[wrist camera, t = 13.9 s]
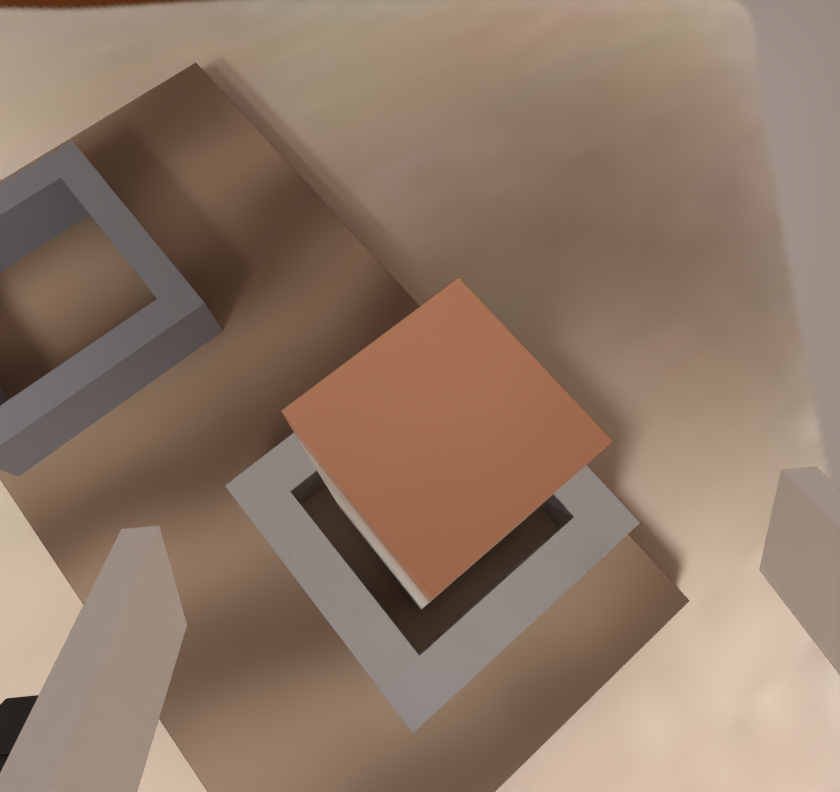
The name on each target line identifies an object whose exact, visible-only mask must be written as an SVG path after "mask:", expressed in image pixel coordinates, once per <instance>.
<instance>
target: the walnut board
mask: <svg viewBox="0 0 840 792" xmlns="http://www.w3.org/2000/svg"><path fill="white" fill-rule="evenodd" d="M71 140H72V141H73V142H74V143H75V145H76V146H77V147H78V148H79V150H80V151H81V152H82V153H83V154H84V156H85V157H86V158H87V159H88V161H89V162H90V163H91V164H92V166H93V167H94V168H95V169H96V170H97V172H98V173H99V174H100V175H101V177H102V178H103V179H104V180H105V181H106V183H107V184H108V185H109V186H110V188H111V189H112V190H113V191H114V192H115V194H116V195H117V196H118V197H119V199H120V200H121V201H122V202H123V203H124V205H125V206H126V207H127V208H128V210H129V211H130V212H131V213H132V214H133V216H134V217H135V218H136V219H137V221H138V222H139V223H140V224H141V226H142V227H143V228H144V229H145V230H146V232H147V233H148V234H149V235H150V237H151V238H152V239H153V240H154V241H155V243H156V244H157V245H158V246H159V248H160V249H161V250H162V251H163V252H164V254H165V255H166V256H167V257H168V259H169V260H170V261H171V262H172V263H173V265H174V266H175V267H176V268H177V270H178V271H179V272H180V273H181V274H182V276H183V277H184V278H185V279H186V281H187V282H188V283H189V284H190V286H191V287H192V288H193V289H194V290H195V292H196V293H197V294H198V295H199V297H200V298H201V299H202V300H203V301H204V303H205V304H206V306H207V307H208V309H209V310H210V312H211V314H212V315H213V317H214V318H215V320H216V321H217V323H218V324H219V326H220V328H221V329H222V331H223V332H221V333H220V334H219V335H217V336H216V337H214V338H213V339H211V340H210V341H209V342H207V343H206V344H204V345H203V346H202V347H200V348H199V349H197V350H196V351H195V352H193V353H192V354H190V355H189V356H188V357H186V358H185V359H183V360H182V361H181V362H179V363H178V364H176V365H175V366H174V367H172V368H171V369H169V370H168V371H166V372H165V373H164V374H162V375H161V376H159V377H158V378H157V379H155V380H154V381H152V382H151V383H150V384H148V385H147V386H145V387H144V388H143V389H141V390H140V391H138V392H137V393H136V394H134V395H133V396H131V397H130V398H129V399H127V400H126V401H124V402H123V403H121V404H120V405H119V406H117V407H116V408H114V409H113V410H112V411H110V412H109V413H107V414H106V415H105V416H103V417H102V418H100V419H99V420H98V421H96V422H95V423H93V424H92V425H91V426H89V427H88V428H86V429H85V430H84V431H82V432H81V433H79V434H78V435H76V436H75V437H74V438H72V439H71V440H69V441H68V442H67V443H65V444H64V445H62V446H61V447H60V448H58V449H57V450H55V451H54V452H53V453H51V454H50V455H48V456H47V457H46V458H44V459H43V460H41V461H40V462H39V463H37V464H36V465H34V466H33V467H31V468H30V469H29V470H27V471H26V472H24V473H23V474H22V475H20V476H19V477H18V476H15V475H13V474H10V473H7V472H4V471H2V470H0V480H1V481H2V483H3V484H4V486H5V487H6V489H7V490H8V492H9V493H10V495H11V496H12V498H13V499H14V501H15V502H16V504H17V505H18V507H19V508H20V510H21V511H22V513H23V514H24V516H25V518H26V519H27V521H28V522H29V524H30V525H31V527H32V528H33V530H34V531H35V533H36V534H37V536H38V537H39V539H40V540H41V542H42V543H43V545H44V546H45V548H46V549H47V551H48V552H49V554H50V555H51V557H52V558H53V560H54V561H55V563H56V564H57V566H58V567H59V569H60V570H61V572H62V573H63V575H64V576H65V578H66V579H67V581H68V582H69V584H70V585H71V587H72V588H73V590H74V591H75V593H76V594H77V596H78V597H79V599H80V600H81V602H82V603H83V605H84V603H85V601H86V599H87V597H88V595H89V593H90V591H91V589H92V587H93V585H94V583H95V581H96V579H97V577H98V575H99V573H100V571H101V569H102V567H103V565H104V563H105V561H106V559H107V557H108V555H109V553H110V551H111V549H112V547H113V545H114V543H115V541H116V539H117V537H118V535H119V533H120V531H121V529H127V528H138V527H149V526H160V530H161V533H162V537H163V540H164V544H165V548H166V551H167V555H168V558H169V562H170V566H171V569H172V573H173V576H174V580H175V584H176V587H177V591H178V594H179V598H180V602H181V605H182V609H183V612H184V616H185V619H186V623H187V627H186V630H185V633H184V637H183V640H182V643H181V647H180V650H179V653H178V657H177V660H176V663H175V667H174V670H173V673H172V677H171V680H170V683H169V687H168V690H167V693H166V697H165V700H164V703H163V707H162V710H161V713H160V717H159V719H160V721H161V722H162V724H163V725H164V727H165V728H166V730H167V731H168V733H169V734H170V736H171V737H172V739H173V740H174V742H175V743H176V745H177V747H178V748H179V750H180V751H181V753H182V754H183V756H184V757H185V759H186V760H187V762H188V763H189V765H190V766H191V768H192V769H193V771H194V772H195V774H196V775H197V777H198V778H199V780H200V781H201V783H202V784H203V786H204V787H205V789H206V790H207V792H495V791H496V790H497V789H498V788H499V787H500V786H501V785H502V784H503V783H504V782H505V781H506V780H507V779H508V778H509V777H510V776H511V775H513V774H514V773H515V772H516V771H517V770H518V769H519V768H520V767H521V766H522V765H523V764H524V763H525V762H526V761H527V760H528V759H529V758H530V757H531V756H532V755H533V754H534V753H535V752H536V751H537V750H538V749H539V748H540V747H541V746H542V745H543V744H544V743H545V742H546V741H547V740H548V739H549V738H550V737H551V736H552V735H553V734H554V733H555V732H556V731H557V730H558V729H559V728H560V727H561V726H562V725H563V724H564V723H565V722H566V721H567V720H569V719H570V718H571V717H572V716H573V715H574V714H575V713H576V712H577V711H578V710H579V709H580V708H581V707H582V706H583V705H584V704H585V703H586V702H587V701H588V700H589V699H590V698H591V697H592V696H593V695H594V694H595V693H596V692H597V691H598V690H599V689H600V688H601V687H602V686H603V685H604V684H605V683H606V682H607V681H608V680H609V679H610V678H611V677H612V676H613V675H614V674H615V673H616V672H617V671H618V670H619V669H620V668H621V667H622V666H623V665H625V664H626V663H627V662H628V661H629V660H630V659H631V658H632V657H633V656H634V655H635V654H636V653H637V652H638V651H639V650H640V649H641V648H642V647H643V646H644V645H645V644H646V643H647V642H648V641H649V640H650V639H651V638H652V637H653V636H654V635H655V634H656V633H657V632H658V631H659V630H660V629H661V628H662V627H663V626H664V625H665V624H666V623H667V622H668V621H669V620H670V619H671V618H672V617H673V616H674V615H675V614H676V613H677V612H678V611H679V610H681V609H682V608H683V607H684V606H685V605H686V604H687V603H688V602H689V600H688V599H687V597H686V596H685V595H684V594H683V593H682V592H681V591H680V590H679V589H678V588H677V587H676V585H675V584H674V583H673V582H672V581H671V580H670V579H669V578H668V577H667V576H666V575H665V573H664V572H663V571H662V570H661V569H660V568H659V567H658V566H657V565H656V564H655V563H654V561H653V560H652V559H651V558H650V557H649V556H648V555H647V554H646V553H645V552H644V551H643V549H642V548H641V547H640V546H639V545H638V544H637V543H636V542H635V541H634V540H633V539H632V537H631V536H630V535H629V534H628V535H627V536H625V537H624V538H623V539H622V540H621V541H620V542H619V543H618V544H617V545H616V546H615V547H614V548H613V549H611V550H610V551H609V552H608V553H607V554H606V555H605V556H604V557H603V558H602V559H601V560H600V561H598V562H597V563H596V564H595V565H594V566H593V567H592V568H591V569H590V570H589V571H588V572H587V573H586V574H584V575H583V576H582V577H581V578H580V579H579V580H578V581H577V582H576V583H575V584H574V585H573V586H571V587H570V588H569V589H568V590H567V591H566V592H565V593H564V594H563V595H562V596H561V597H560V598H559V599H557V600H556V601H555V602H554V603H553V604H552V605H551V606H550V607H549V608H548V609H547V610H546V611H545V612H543V613H542V614H541V615H540V616H539V617H538V618H537V619H536V620H535V621H534V622H533V623H532V624H530V625H529V626H528V627H527V628H526V629H525V630H524V631H523V632H522V633H521V634H520V635H519V636H518V637H516V638H515V639H514V640H513V641H512V642H511V643H510V644H509V645H508V646H507V647H506V648H505V649H503V650H502V651H501V652H500V653H499V654H498V655H497V656H496V657H495V658H494V659H493V660H492V661H491V662H489V663H488V664H487V665H486V666H485V667H484V668H483V669H482V670H481V671H480V672H479V673H478V674H477V675H475V676H474V677H473V678H472V679H471V680H470V681H469V682H468V683H467V684H466V685H465V686H464V687H462V688H461V689H460V690H459V691H458V692H457V693H456V694H455V695H454V696H453V697H452V698H451V699H450V700H448V701H447V702H446V703H445V704H444V705H443V706H442V707H441V708H440V709H439V710H438V711H437V712H435V713H434V714H433V715H432V716H431V717H430V718H429V719H428V720H427V721H426V722H425V723H424V724H423V725H421V726H420V727H419V728H418V729H417V730H416V731H415V732H414V733H413V732H412V731H411V730H410V728H409V727H408V726H407V725H406V723H405V722H404V721H403V719H402V718H401V717H400V715H399V714H398V713H397V711H396V710H395V709H394V707H393V706H392V705H391V703H390V702H389V701H388V700H387V698H386V697H385V696H384V694H383V693H382V692H381V690H380V689H379V688H378V686H377V685H376V684H375V682H374V681H373V680H372V678H371V677H370V676H369V675H368V673H367V672H366V671H365V669H364V668H363V667H362V665H361V664H360V663H359V661H358V660H357V659H356V657H355V656H354V655H353V653H352V652H351V651H350V650H349V648H348V647H347V646H346V644H345V643H344V642H343V640H342V639H341V638H340V636H339V635H338V634H337V632H336V631H335V630H334V629H333V627H332V626H331V625H330V623H329V622H328V621H327V619H326V618H325V617H324V615H323V614H322V613H321V611H320V610H319V609H318V607H317V606H316V605H315V604H314V602H313V601H312V600H311V598H310V597H309V596H308V594H307V593H306V592H305V590H304V589H303V588H302V586H301V585H300V584H299V582H298V581H297V580H296V579H295V577H294V576H293V575H292V573H291V572H290V571H289V569H288V568H287V567H286V565H285V564H284V563H283V561H282V560H281V559H280V557H279V556H278V555H277V554H276V552H275V551H274V550H273V548H272V547H271V546H270V544H269V543H268V542H267V540H266V539H265V538H264V536H263V535H262V534H261V532H260V531H259V530H258V529H257V527H256V526H255V525H254V523H253V522H252V521H251V519H250V518H249V517H248V515H247V514H246V513H245V511H244V510H243V509H242V507H241V506H240V505H239V504H238V502H237V501H236V500H235V498H234V497H233V496H232V494H231V493H230V492H229V490H228V489H227V488H226V486H225V485H226V484H228V483H229V482H230V481H232V480H233V479H234V478H236V477H237V476H238V475H239V474H241V473H242V472H243V471H245V470H246V469H247V468H249V467H250V466H251V465H252V464H254V463H255V462H256V461H258V460H259V459H260V458H262V457H263V456H264V455H265V454H267V453H268V452H269V451H271V450H272V449H273V448H275V447H276V446H277V445H278V444H280V443H281V442H282V441H284V440H285V439H286V438H288V437H289V436H290V435H291V434H293V433H294V431H293V430H292V428H291V426H290V425H289V423H288V421H287V420H286V418H285V416H284V415H283V413H282V412H281V411H282V410H283V409H284V408H286V407H287V406H288V405H290V404H291V403H292V402H294V401H295V400H296V399H298V398H299V397H300V396H302V395H303V394H304V393H306V392H307V391H308V390H310V389H311V388H312V387H314V386H315V385H316V384H318V383H319V382H320V381H322V380H323V379H324V378H326V377H327V376H328V375H330V374H331V373H332V372H334V371H335V370H336V369H338V368H339V367H340V366H342V365H343V364H344V363H346V362H347V361H348V360H350V359H351V358H352V357H354V356H355V355H356V354H358V353H359V352H360V351H362V350H363V349H364V348H366V347H367V346H368V345H370V344H371V343H372V342H374V341H375V340H376V339H378V338H379V337H380V336H382V335H383V334H384V333H386V332H387V331H388V330H390V329H391V328H392V327H394V326H395V325H396V324H398V323H399V322H400V321H402V320H403V319H404V318H406V317H407V316H408V315H410V314H411V313H412V312H414V311H415V310H416V309H418V308H419V307H420V306H419V305H418V304H417V303H416V302H415V301H414V300H413V299H412V298H411V297H410V295H409V294H408V293H407V292H406V291H405V290H404V289H403V288H402V287H401V286H400V285H399V283H398V282H397V281H396V280H395V279H394V278H393V277H392V276H391V275H390V274H389V273H388V271H387V270H386V269H385V268H384V267H383V266H382V265H381V264H380V263H379V262H378V261H377V259H376V258H375V257H374V256H373V255H372V254H371V253H370V252H369V251H368V250H367V249H366V247H365V246H364V245H363V244H362V243H361V242H360V241H359V240H358V239H357V238H356V237H355V235H354V234H353V233H352V232H351V231H350V230H349V229H348V228H347V227H346V226H345V225H344V223H343V222H342V221H341V220H340V219H339V218H338V217H337V216H336V215H335V214H334V213H333V211H332V210H331V209H330V208H329V207H328V206H327V205H326V204H325V203H324V202H323V201H322V200H321V198H320V197H319V196H318V195H317V194H316V193H315V192H314V191H313V190H312V189H311V188H310V186H309V185H308V184H307V183H306V182H305V181H304V180H303V179H302V178H301V177H300V176H299V174H298V173H297V172H296V171H295V170H294V169H293V168H292V167H291V166H290V165H289V164H288V162H287V161H286V160H285V159H284V158H283V157H282V156H281V155H280V154H279V153H278V152H277V150H276V149H275V148H274V147H273V146H272V145H271V144H270V143H269V142H268V141H267V140H266V138H265V137H264V136H263V135H262V134H261V133H260V132H259V131H258V130H257V129H256V128H255V126H254V125H253V124H252V123H251V122H250V121H249V120H248V119H247V118H246V117H245V116H244V114H243V113H242V112H241V111H240V110H239V109H238V108H237V107H236V106H235V105H234V104H233V102H232V101H231V100H230V99H229V98H228V97H227V96H226V95H225V94H224V93H223V92H222V90H221V89H220V88H219V87H218V86H217V85H216V84H215V83H214V82H213V81H212V80H211V78H210V77H209V76H208V75H207V74H206V73H205V72H204V71H203V70H202V69H201V68H200V66H199V65H198V64H197V63H195V64H193V65H191V66H190V67H188V68H186V69H185V70H183V71H181V72H180V73H178V74H176V75H175V76H173V77H171V78H170V79H168V80H166V81H165V82H163V83H161V84H160V85H158V86H157V87H155V88H153V89H152V90H150V91H148V92H147V93H145V94H143V95H142V96H140V97H138V98H137V99H135V100H133V101H132V102H130V103H128V104H127V105H125V106H123V107H122V108H120V109H119V110H117V111H115V112H114V113H112V114H110V115H109V116H107V117H105V118H104V119H102V120H100V121H99V122H97V123H95V124H94V125H92V126H90V127H89V128H87V129H85V130H84V131H82V132H80V133H79V134H77V135H76V136H74V137H72V138H71V139H69V140H67V141H66V142H64V143H62V144H61V145H59V146H57V147H56V148H54V149H52V150H51V151H49V152H47V153H46V154H44V155H42V156H41V157H39V158H37V159H36V160H34V161H33V162H31V163H29V164H28V165H26V166H24V167H23V168H21V169H19V170H18V171H16V172H14V173H13V174H11V175H9V176H8V177H6V178H4V179H3V180H1V181H0V183H2V182H3V181H5V180H6V179H8V178H10V177H11V176H13V175H15V174H16V173H18V172H20V171H21V170H23V169H25V168H26V167H28V166H30V165H31V164H33V163H35V162H36V161H38V160H40V159H41V158H43V157H44V156H46V155H48V154H49V153H51V152H53V151H54V150H56V149H58V148H59V147H61V146H63V145H64V144H66V143H68V142H69V141H71ZM155 300H156V297H155V296H154V295H153V294H152V292H151V291H150V290H149V289H148V287H147V286H146V285H145V284H144V282H143V281H142V280H141V279H140V277H139V276H138V275H137V274H136V272H135V271H134V270H133V269H132V267H131V266H130V265H129V264H128V262H127V261H126V260H125V259H124V257H123V256H122V255H121V253H120V252H119V251H118V250H117V248H116V247H115V246H114V245H113V243H112V242H111V241H110V240H109V238H108V237H107V236H106V235H105V233H104V232H103V231H102V230H101V228H100V227H99V226H98V225H97V223H96V222H95V221H94V220H93V218H92V217H91V216H90V215H89V216H88V217H86V218H85V219H83V220H81V221H80V222H78V223H77V224H75V225H74V226H72V227H70V228H69V229H67V230H66V231H64V232H63V233H61V234H59V235H58V236H56V237H55V238H53V239H52V240H50V241H48V242H47V243H45V244H44V245H42V246H41V247H39V248H37V249H36V250H34V251H33V252H31V253H30V254H28V255H26V256H25V257H23V258H22V259H20V260H19V261H17V262H15V263H14V264H12V265H11V266H9V267H8V268H6V269H4V270H3V271H1V272H0V387H1V389H2V390H3V392H4V393H5V395H6V396H7V397H8V399H11V398H12V397H14V396H15V395H17V394H18V393H20V392H21V391H23V390H24V389H26V388H27V387H29V386H30V385H31V384H33V383H34V382H36V381H37V380H39V379H40V378H42V377H43V376H45V375H46V374H48V373H49V372H51V371H52V370H53V369H55V368H56V367H58V366H59V365H61V364H62V363H64V362H65V361H67V360H68V359H70V358H71V357H73V356H74V355H75V354H77V353H78V352H80V351H81V350H83V349H84V348H86V347H87V346H89V345H90V344H92V343H93V342H95V341H96V340H97V339H99V338H100V337H102V336H103V335H105V334H106V333H108V332H109V331H111V330H112V329H114V328H115V327H117V326H118V325H119V324H121V323H122V322H124V321H125V320H127V319H128V318H130V317H131V316H133V315H134V314H136V313H137V312H138V311H140V310H141V309H143V308H144V307H146V306H147V305H149V304H150V303H152V302H153V301H155ZM302 505H303V507H304V508H305V509H306V510H307V512H308V513H309V514H310V515H311V517H312V518H313V519H314V521H315V522H316V523H317V524H318V526H319V527H320V528H321V529H322V531H323V532H324V533H325V534H326V536H327V537H328V538H329V540H330V541H331V542H332V543H333V545H334V546H335V547H336V548H337V550H338V551H339V552H340V554H341V555H342V556H343V557H344V559H345V560H346V561H347V562H348V564H349V565H350V566H351V568H352V569H353V570H354V571H355V573H356V574H357V575H358V576H359V578H360V579H361V580H362V581H363V583H364V584H365V585H366V587H367V588H368V589H369V590H370V592H371V593H372V594H373V595H374V597H375V598H376V599H377V601H378V602H379V603H380V604H381V606H382V607H383V608H384V609H385V611H386V612H387V613H388V615H389V616H390V617H391V618H392V620H393V621H394V622H395V623H396V625H397V626H398V627H399V628H400V630H401V631H402V632H403V634H404V635H405V636H406V637H407V639H408V640H409V641H410V642H411V644H412V645H413V646H414V648H415V649H416V650H417V651H418V652H419V651H420V650H422V649H423V648H424V647H425V646H426V645H427V644H428V643H429V642H430V641H432V640H433V639H434V638H435V637H436V636H437V635H438V634H439V633H440V632H442V631H443V630H444V629H445V628H446V627H447V626H448V625H449V624H451V623H452V622H453V621H454V620H455V619H456V618H457V617H458V616H459V615H461V614H462V613H463V612H464V611H465V610H466V609H467V608H468V607H470V606H471V605H472V604H473V603H474V602H475V601H476V600H477V599H478V598H480V597H481V596H482V595H483V594H484V593H485V592H486V591H487V590H488V589H490V588H491V587H492V586H493V585H494V584H495V583H496V582H497V581H499V580H500V579H501V578H502V577H503V576H504V575H505V574H506V573H507V572H509V571H510V570H511V569H512V568H513V567H514V566H515V565H516V564H518V563H519V562H520V561H521V560H522V559H523V558H524V557H525V556H526V555H528V554H529V553H530V552H531V551H532V550H533V549H534V548H535V547H536V546H538V545H539V544H540V543H541V542H542V541H543V540H544V539H545V538H547V537H548V536H549V535H550V534H551V533H552V532H553V531H554V530H555V529H557V528H558V526H557V525H556V524H555V523H554V522H553V521H552V520H551V518H550V517H549V516H548V515H547V514H546V513H545V512H544V511H543V509H542V508H541V507H540V506H539V507H538V508H537V509H536V510H535V511H534V512H532V513H531V514H530V515H529V516H528V517H527V518H526V519H525V520H523V521H522V522H521V523H520V524H519V525H518V526H517V527H515V528H514V529H513V530H512V531H511V532H510V533H509V534H507V535H506V536H505V537H504V538H503V539H502V540H501V541H499V542H498V543H497V544H496V545H495V546H494V547H492V548H491V549H490V550H489V551H488V552H487V553H486V554H484V555H483V556H482V557H481V558H480V559H479V560H478V561H476V562H475V563H474V564H473V565H472V566H471V567H470V568H468V569H467V570H466V571H465V572H464V573H463V574H462V575H460V576H459V577H458V578H457V579H456V580H455V581H454V582H452V583H451V584H450V585H449V586H448V587H447V588H446V589H444V590H443V591H442V592H441V593H440V594H439V595H437V596H436V597H435V598H434V599H433V600H432V601H431V602H429V603H428V604H427V605H426V606H425V607H424V608H423V609H420V608H419V607H418V606H417V604H416V603H415V602H414V601H413V599H412V598H411V597H410V596H409V594H408V593H407V592H406V591H405V589H404V588H403V587H402V586H401V584H400V583H399V582H398V581H397V579H396V578H395V577H394V576H393V574H392V573H391V572H390V570H389V569H388V568H387V567H386V565H385V564H384V563H383V562H382V560H381V559H380V558H379V557H378V555H377V554H376V553H375V552H374V550H373V549H372V548H371V547H370V545H369V544H368V543H367V542H366V540H365V539H364V538H363V537H362V535H361V534H360V533H359V532H358V530H357V529H356V528H355V527H354V525H353V524H352V523H351V521H350V520H349V519H348V518H347V516H346V515H345V514H344V513H343V511H342V510H341V509H340V507H339V506H338V504H337V502H336V501H335V499H334V497H333V496H332V494H331V492H330V491H329V489H328V488H327V486H326V485H325V486H324V487H322V488H321V489H320V490H319V491H317V492H316V493H315V494H314V495H312V496H311V497H310V498H309V499H307V500H306V501H305V502H303V503H302Z"/></svg>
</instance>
